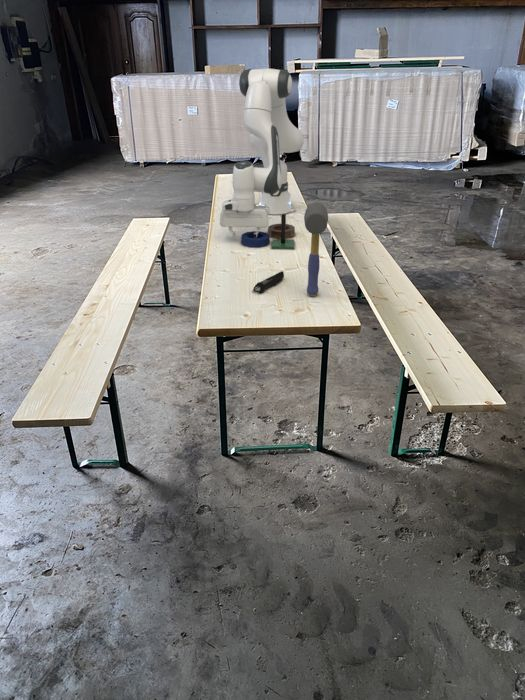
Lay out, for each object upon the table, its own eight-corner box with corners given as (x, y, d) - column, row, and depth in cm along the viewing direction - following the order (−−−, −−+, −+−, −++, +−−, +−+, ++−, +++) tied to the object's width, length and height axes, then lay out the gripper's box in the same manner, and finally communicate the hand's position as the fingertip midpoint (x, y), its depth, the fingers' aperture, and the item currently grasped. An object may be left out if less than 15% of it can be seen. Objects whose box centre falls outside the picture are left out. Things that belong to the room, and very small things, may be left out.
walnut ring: (268, 230, 237) (269, 223, 236) (294, 230, 237) (294, 223, 235) (267, 238, 227) (267, 231, 226) (294, 239, 227) (294, 232, 225)
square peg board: (272, 241, 224) (273, 210, 217) (294, 242, 224) (294, 211, 217) (271, 248, 216) (271, 217, 210) (293, 249, 216) (294, 217, 209)
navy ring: (243, 238, 228) (243, 231, 227) (270, 238, 227) (270, 231, 226) (240, 247, 218) (240, 239, 217) (268, 247, 217) (268, 240, 216)
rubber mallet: (323, 303, 172) (329, 211, 156) (300, 302, 172) (304, 211, 157) (323, 288, 182) (328, 200, 167) (301, 287, 183) (304, 200, 168)
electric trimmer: (286, 280, 189) (287, 271, 187) (261, 294, 178) (261, 285, 176) (278, 277, 191) (278, 269, 189) (252, 291, 180) (252, 283, 178)
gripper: (269, 202, 217) (269, 235, 224) (220, 201, 218) (221, 234, 225) (269, 206, 211) (268, 240, 218) (218, 205, 213) (219, 239, 219)
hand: (244, 237), depth 222 cm, fingers open, 8 cm apart
